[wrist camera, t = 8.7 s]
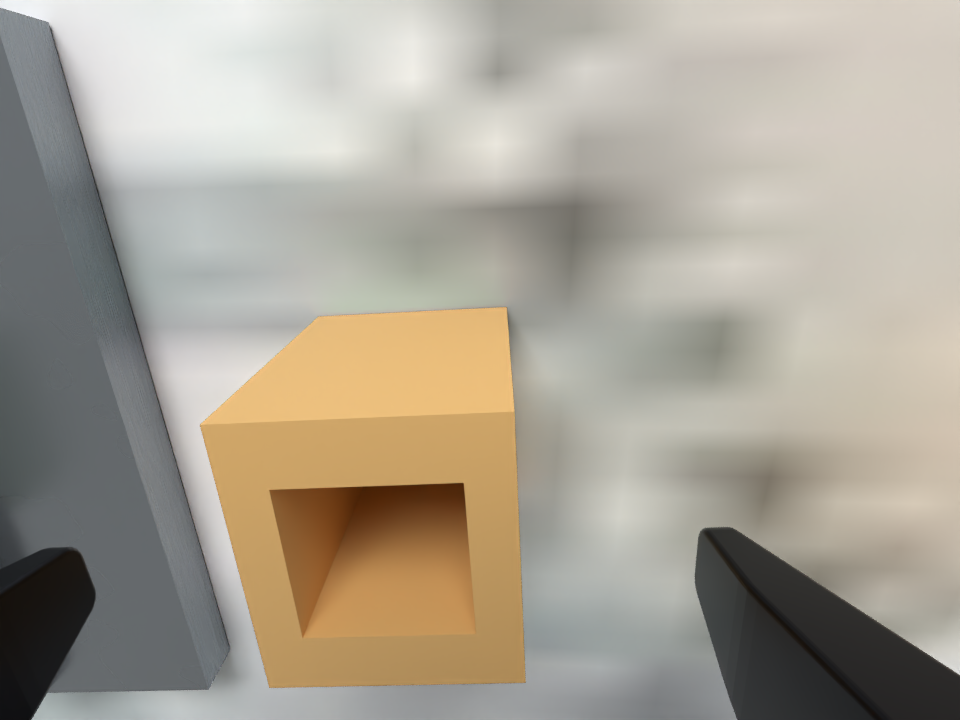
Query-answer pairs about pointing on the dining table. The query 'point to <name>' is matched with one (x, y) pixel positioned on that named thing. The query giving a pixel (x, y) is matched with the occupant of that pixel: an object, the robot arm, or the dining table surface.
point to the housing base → (86, 404)
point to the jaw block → (378, 501)
